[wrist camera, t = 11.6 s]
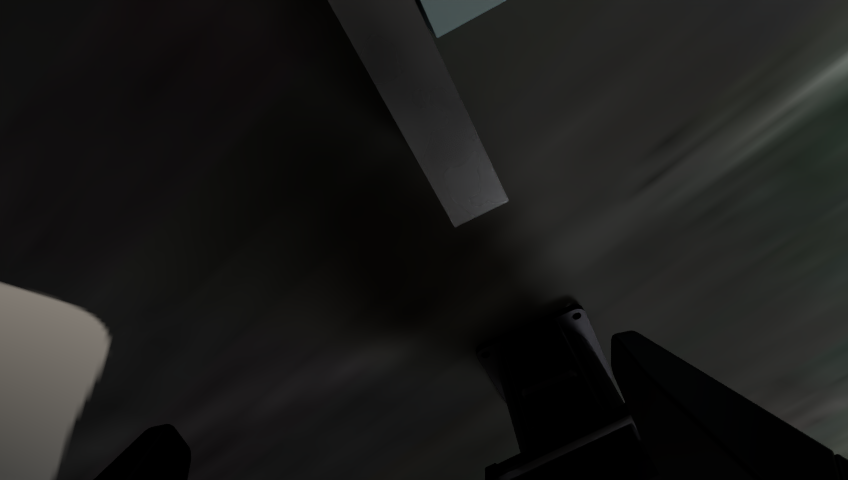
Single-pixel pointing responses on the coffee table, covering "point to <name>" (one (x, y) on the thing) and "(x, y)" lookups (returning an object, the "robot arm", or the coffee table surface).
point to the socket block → (452, 13)
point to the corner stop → (423, 102)
